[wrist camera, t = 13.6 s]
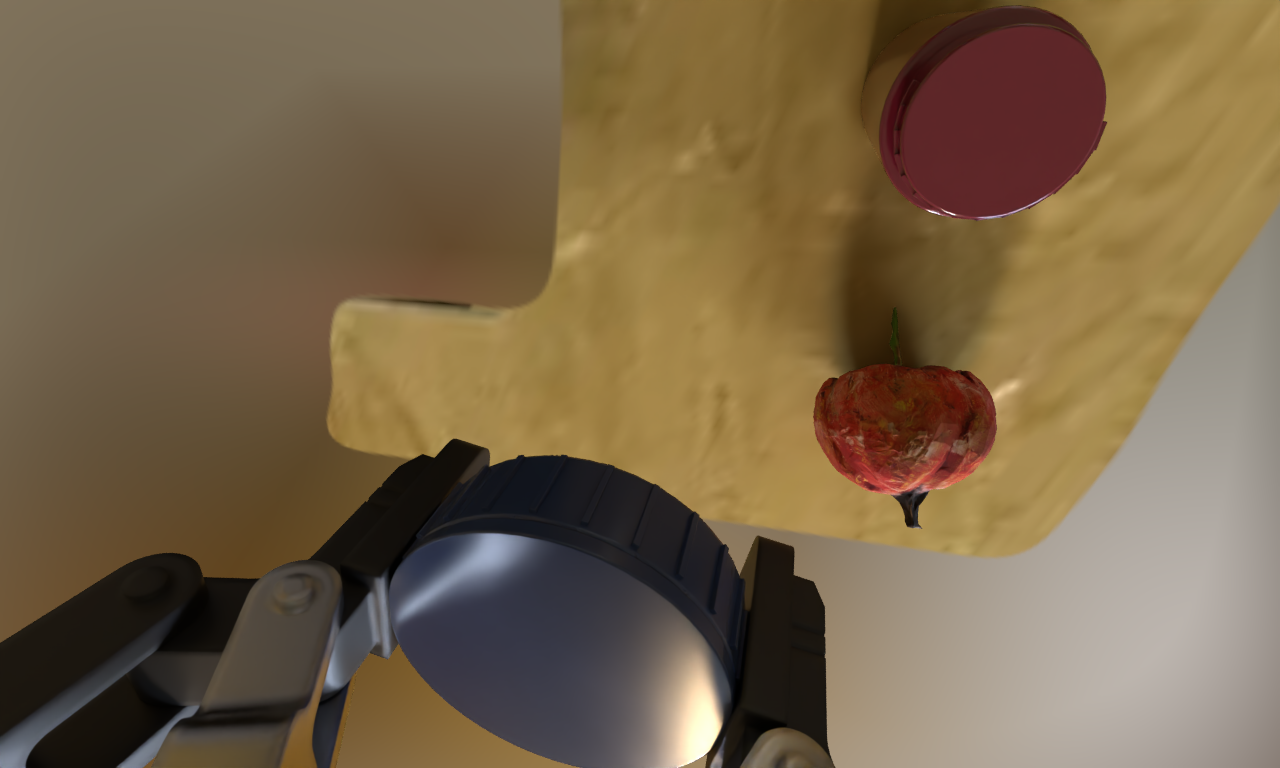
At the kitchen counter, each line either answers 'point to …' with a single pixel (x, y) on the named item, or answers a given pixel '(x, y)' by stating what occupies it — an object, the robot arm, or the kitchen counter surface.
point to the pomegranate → (905, 427)
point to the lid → (575, 614)
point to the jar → (984, 110)
